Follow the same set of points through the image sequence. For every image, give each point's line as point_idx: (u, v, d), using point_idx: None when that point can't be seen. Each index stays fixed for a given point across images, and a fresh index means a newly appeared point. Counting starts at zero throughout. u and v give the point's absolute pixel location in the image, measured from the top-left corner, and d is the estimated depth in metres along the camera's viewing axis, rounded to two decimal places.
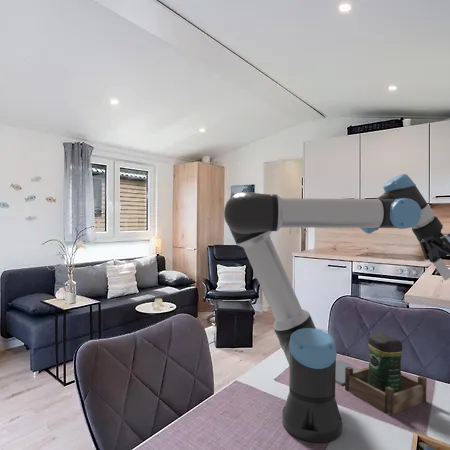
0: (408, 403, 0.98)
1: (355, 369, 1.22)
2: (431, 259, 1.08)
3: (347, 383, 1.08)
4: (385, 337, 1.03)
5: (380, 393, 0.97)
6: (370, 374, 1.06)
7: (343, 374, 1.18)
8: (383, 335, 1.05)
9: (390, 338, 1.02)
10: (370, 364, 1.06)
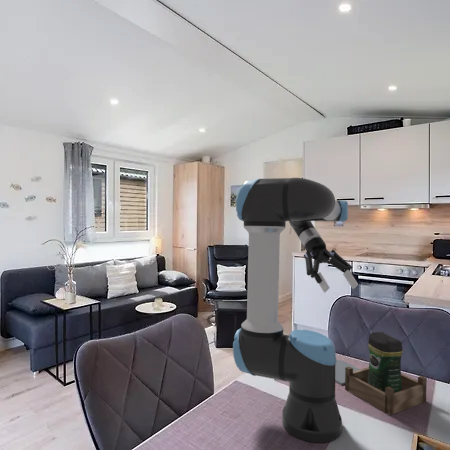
0: (408, 403, 0.98)
1: (355, 369, 1.22)
2: (317, 269, 1.21)
3: (347, 383, 1.08)
4: (385, 337, 1.03)
5: (380, 393, 0.97)
6: (370, 374, 1.06)
7: (343, 374, 1.18)
8: (383, 335, 1.05)
9: (390, 338, 1.02)
10: (370, 364, 1.06)
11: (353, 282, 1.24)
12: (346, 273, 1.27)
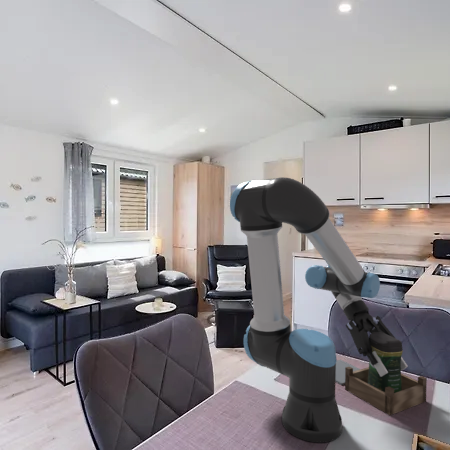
0: (408, 403, 0.98)
1: (355, 369, 1.22)
2: (370, 346, 1.04)
3: (347, 383, 1.08)
4: (385, 337, 1.03)
5: (380, 393, 0.97)
6: (370, 374, 1.06)
7: (343, 374, 1.18)
8: (383, 335, 1.05)
9: (391, 338, 1.02)
10: (370, 364, 1.06)
11: (401, 363, 1.04)
12: None
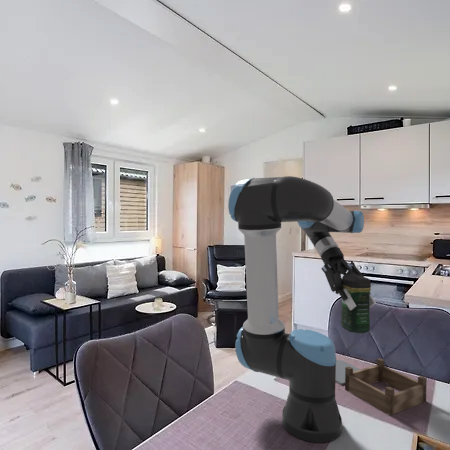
0: (408, 403, 0.98)
1: (355, 369, 1.22)
2: (342, 284, 1.15)
3: (347, 383, 1.08)
4: (355, 276, 1.14)
5: (380, 393, 0.97)
6: (342, 310, 1.17)
7: (343, 374, 1.18)
8: (354, 275, 1.15)
9: (360, 277, 1.13)
10: (342, 301, 1.17)
11: (370, 300, 1.15)
12: None
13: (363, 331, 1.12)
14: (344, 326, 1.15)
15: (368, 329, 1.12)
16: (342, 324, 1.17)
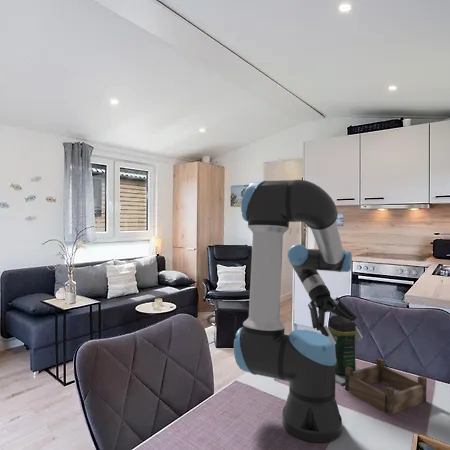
0: (408, 403, 0.98)
1: None
2: (323, 322, 1.19)
3: (347, 383, 1.08)
4: (341, 319, 1.19)
5: (380, 393, 0.97)
6: None
7: None
8: (340, 318, 1.20)
9: (346, 320, 1.18)
10: None
11: (358, 334, 1.21)
12: None
13: None
14: None
15: None
16: None
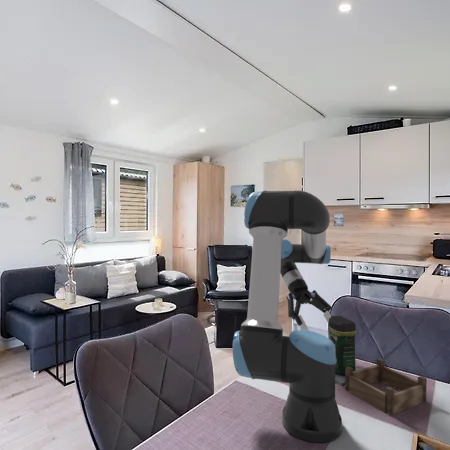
0: (408, 403, 0.98)
1: None
2: (298, 312, 1.31)
3: (347, 383, 1.08)
4: (341, 319, 1.19)
5: (380, 393, 0.97)
6: None
7: None
8: (340, 318, 1.20)
9: (346, 320, 1.18)
10: None
11: None
12: (326, 314, 1.36)
13: None
14: None
15: None
16: None
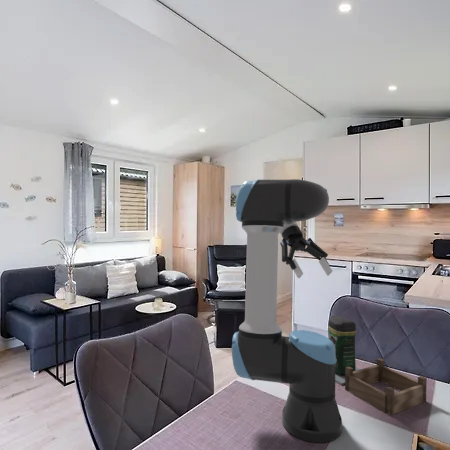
0: (408, 403, 0.98)
1: None
2: (292, 256, 1.24)
3: (347, 383, 1.08)
4: (341, 319, 1.19)
5: (380, 393, 0.97)
6: None
7: None
8: (340, 318, 1.20)
9: (346, 320, 1.18)
10: None
11: (328, 268, 1.27)
12: (321, 260, 1.29)
13: None
14: None
15: None
16: None
